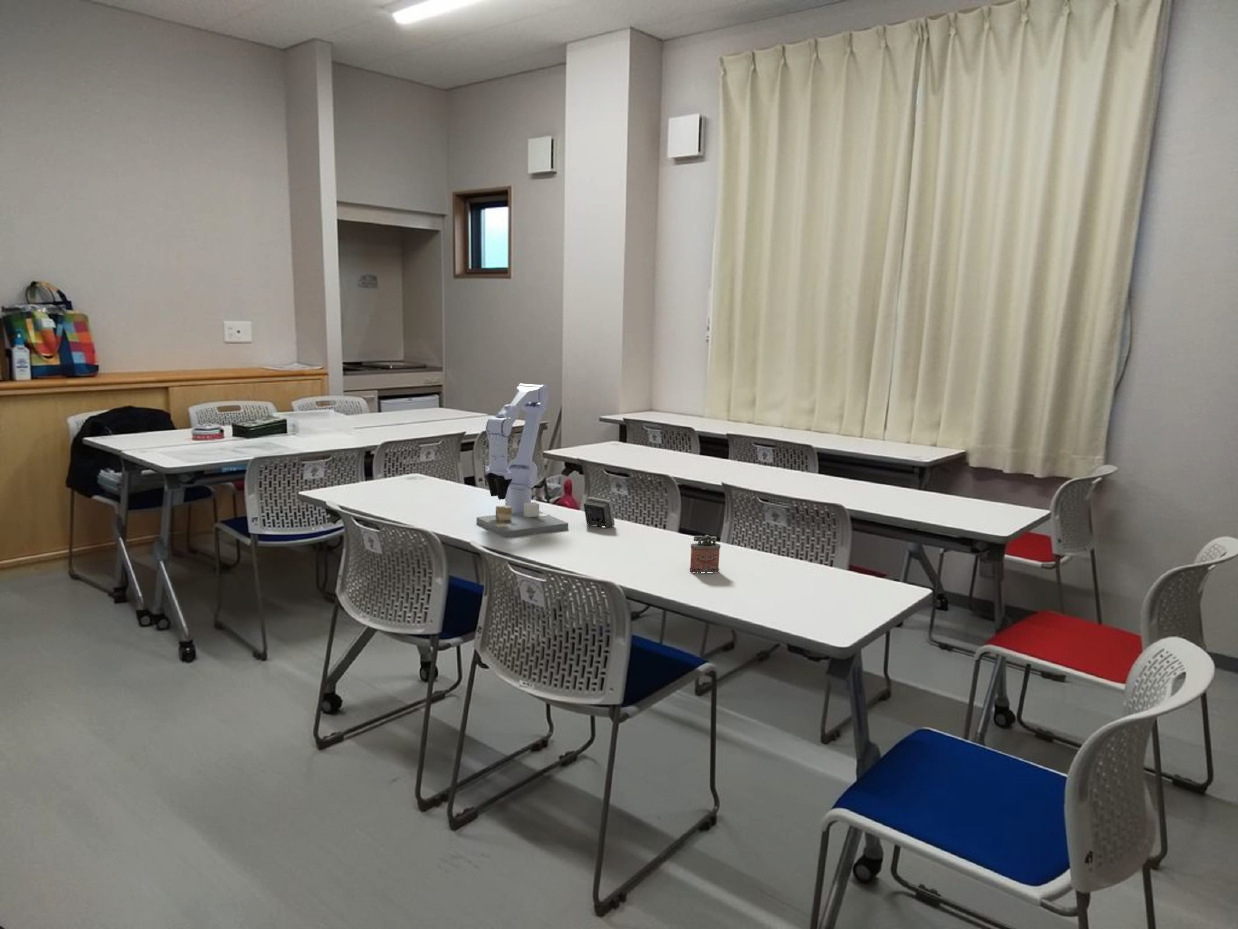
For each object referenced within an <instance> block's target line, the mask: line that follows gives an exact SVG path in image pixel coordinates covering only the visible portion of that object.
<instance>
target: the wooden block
mask: <svg viewBox="0 0 1238 929" xmlns="http://www.w3.org/2000/svg"><path fill="white" fill-rule="evenodd" d="M495 515H496V519H497V520H499V521H504V520H511V515H512V507H510V506H508V505H505V504H504V505H498V506H495Z"/></svg>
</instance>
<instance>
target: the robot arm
mask: <svg viewBox="0 0 1238 929" xmlns="http://www.w3.org/2000/svg"><path fill="white" fill-rule="evenodd" d="M549 399H550V392H549V388H548V387H547V385H546V384H532V383H531V384H530V383H528V384H527V383H522V382H521V383H519V384H518V385H517V386H516V389H515V396H514V398H513V399H512V401H511V402H510V403H509V404H505V405H504V406H503V407H502V408H501V410H499V412H498V413H497V414H496V416H495V417H494V416H492V417H490V418H488V420H487V421H486V424H485V425H486V426H485V432H486V436H487V440H488V442H489V443H488V447H489V448H488V451H489V453H488V454H489V455H488V461H489V463H488V465H485V466H484V470H485V472H486V473H487V474H486V473H485V474H484V475H483V476H484V479H485V480H486V482H487V485H488V490H489V494H490V497H497V499H498V500H499V501H500V500H504V502H505V503H504V506H505V505H508V506H510V507H512V513H516V512H524V503H532V488H534V486H536V483H537V481H538V469H539V467H538V466H537V465H536V463H535V462H534V460H533V456H534V451H535V447H536V443H537V439H538V438H537V437H538V434H539V431H540V430H539V429H540V424H541V421H542V417H543V416H542V415H543V413H544V412H546V411H547V407H548V403H549ZM521 410H522V411H524V412H525V413H526V415H525V416H526V417H525V419H524V426H523V430H522V433H521V436H520V437H521V438H520V442H519V447H518V451H517V455H516V457H515V458H512V460H510V461H508V446H509V444H508V442H509V441H508V436H509V435H511V433H512V428H513V425H514V423H515V422H516V421H517V420H518V418H519V416H520V411H521Z"/></svg>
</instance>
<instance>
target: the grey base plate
mask: <svg viewBox="0 0 1238 929" xmlns="http://www.w3.org/2000/svg"><path fill="white" fill-rule="evenodd" d="M477 523H478V524H477ZM476 524H477V525H480V526H481V527H483V526H484V527H483V528H485V529H486V530H489V531H490V532H493V533H495V534H497V535H499V536H501V537H503V538H505V539H507V538H515V537H516V538H517V537H522V536H530V535H535V534H536V535H537V533H538V534H543V533H551V532H558V531H565V530H569V522H567V521H564V520H561V519H559V518H557V517H555V516H553V515H550V514H547V513H545V512H543V511H540V510H539V516H536V517H526V516H524V512H516V513H512V515H511V520H504V521H499V520H497V519H496V514H493V515H484V516H477V517H476Z"/></svg>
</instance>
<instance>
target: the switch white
mask: <svg viewBox="0 0 1238 929" xmlns="http://www.w3.org/2000/svg"><path fill="white" fill-rule="evenodd" d="M539 511H540V503H537V502H535V501H534V502H532V501H531V503H524V516H526V517H536V516H539Z"/></svg>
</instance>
